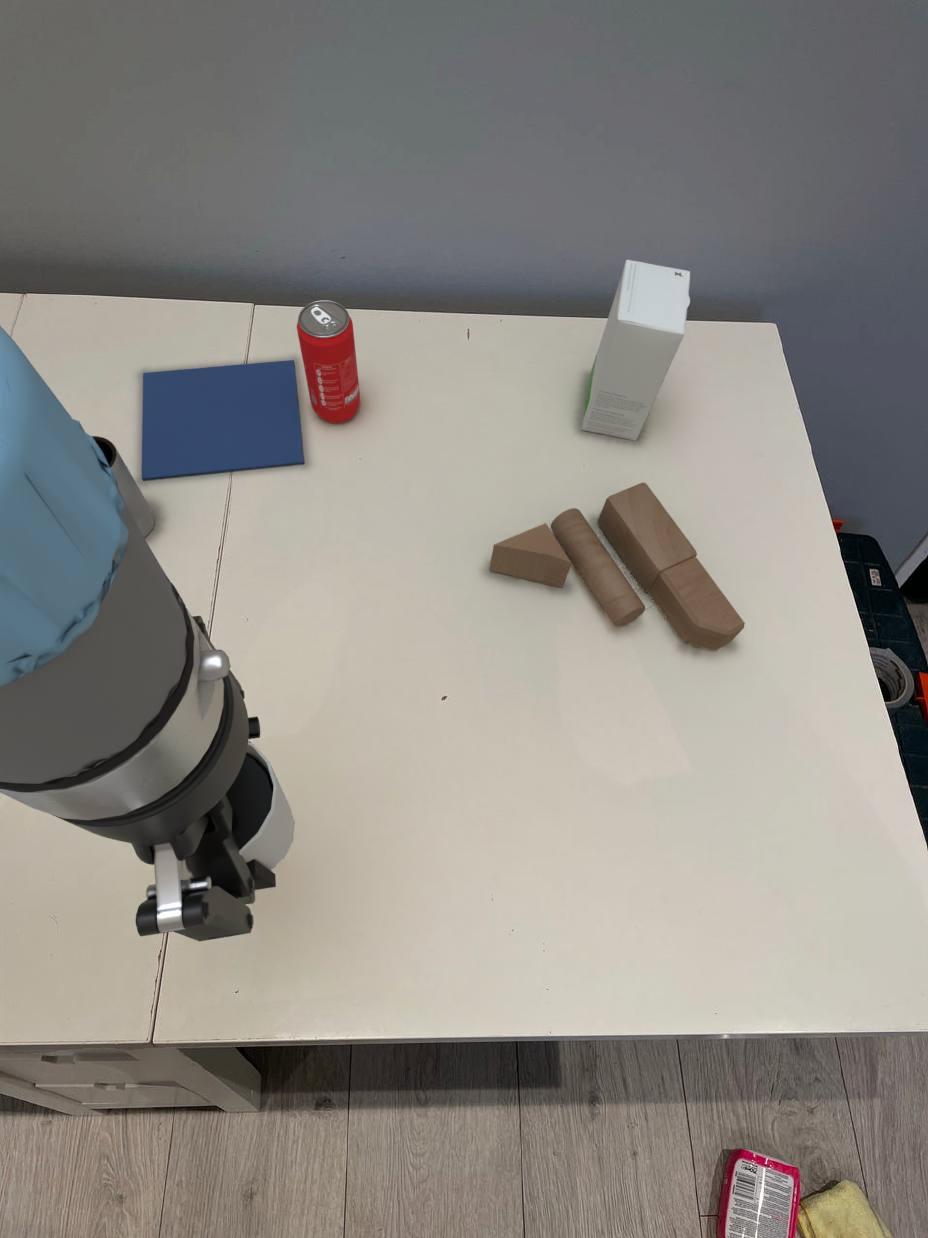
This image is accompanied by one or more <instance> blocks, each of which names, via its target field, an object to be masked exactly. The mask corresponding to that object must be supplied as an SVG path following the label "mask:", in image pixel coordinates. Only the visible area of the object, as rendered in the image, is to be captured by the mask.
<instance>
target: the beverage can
mask: <svg viewBox="0 0 928 1238" xmlns="http://www.w3.org/2000/svg"><path fill="white" fill-rule="evenodd" d="M296 331H297V332H296V333H297V335H298V336H297V337H298V343H299V348H300V352H301V359H302V362H303V369H304V375H305V379H306V385H307V390H308V396H309V400H310V405H311V408H312V409H313V411H314V412H315V413H316V414H317V416H318V417H319V418H320V419H321V420H322V421H324V422H326V423H329V424H334V425H337V424H344V423H347V422H349V421H350V420H352V419H353V418H354V417H355V416H356V414H357V412H358V409H359V407H360V406H361V392H360V382H359V371H358V364H357V354H356V353H357V351H356V341H355V334H354V323H353V319H352V318H351V316H350V314H349V311H348V310H347V309H346V308H345V307H344V306H343V305H342V304H340V303H338V302H336V301H333V300H325V299H324V300H323V299H322V300H316V301H312V302H310V303H308V304H306V305H305V306H304V307H303V308H302V309H301V310H300V312H299V314H298V317H297V322H296Z"/></svg>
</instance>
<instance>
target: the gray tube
mask: <svg viewBox="0 0 928 1238" xmlns="http://www.w3.org/2000/svg"><path fill="white" fill-rule="evenodd" d="M90 436H91V437H93V439H94V440H95V442H96V443H97V445H98V446H99V448H100V449H101V451H102V452H103V454H104V456H105V458H106V460H107V462H108V465H109V467H110V468H111V470H112V471H113V473H114V474H115V476H116V479H117V484H118V489H119V491H120V493H121V495H122V497H123V499H124V501H125V503H126V504H127V506H128V508H129V510H130V512H131V514H132V516H133V518H134V520H135V521H136V523H137V525H138V527H139V529H140V531H141V533H142V535H143V536H144V538H145V539H146V537H148V535H149V534H150V533H151V532H152V531H153V529H154V527H155V523H156V518H155V517H156V516H155V514H154V512H153V510H152V508H151V506H150V504H149V503H148V500H147V499H146V498H145V496H144V494H143V492H142V491H141V489H140V487H139V485H138V484H137V482H136V480H135V479H134V477H133V475H132V473H131V472H130V470H129V468H128V466H127V465H126V463H125V461H124V459H123V458H122V456H121V454H120V452H119V451H118V449H117V447H116V445H114V442H112V441H111V440H109V439H107V438H105V437H102V436H97V435H90Z"/></svg>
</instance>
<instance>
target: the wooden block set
mask: <svg viewBox="0 0 928 1238" xmlns="http://www.w3.org/2000/svg"><path fill="white" fill-rule="evenodd" d="M597 525H598V526H599V527H600V529H601V530H602V532H603V533H604V535H605V536H606V538H607V539H608V541H609V542H610V543H611V545H612V546H613V548H614V549H615V551H616V552H617V554H618V555H619V556H620V558H621V559H622V561H623V562H624V564H625V566H626V567H627V569H628V570H629V571H630V572H631V574H632V575H633V577H634V578H635V580H636V582H637V583H638V584H639V586H640V587H641V588H642V590H643V591H644V592H645V593H649V594H650V596H651V597H652V599H653V600H654V602H655V603H656V605H657V607H659V609H660V611H661V612H662V613H663V615H664V616H665V618H666V619H667V620H668V622H669V623H670V625H671V626H672V628H673V629H674V631H675V632H676V634H677V635H678V636H679V638H680V639H681V640H682V641H684V642H685V643H687V644H690V645H695V646H698V647H700V648H704V649H708V650H711V651H714V650H715V651H717V650H719V649H721V648H723V647H725V646H727V645H729V644H730V643H731V642H732V641H733V640H734V639H735V638H736V637H737V636H738V635H739V634H740V633H741V632H742V631H743V629H744V628H745V625H746V624H745V621H744V619H742V617H741V615H740V614H739V613H738V612H737V610H736V608H734V606H733V605H732V603H731V602H730V601H729V599H728V598H727V596H725V594H724V593H723V592H722V590H721V589H720V587H719V586H718V585H717V583H716V582H715V580H714V579H713V578H712V577H711V575H710V573H708V571H707V570H706V568H705V566H703V563H701V562H700V559H698V557H697V556H698V553H697V550H696V548H695V547H694V546H693V544H692V543H691V541H689V539H688V538H687V537H686V535H685V534H684V532H683V531H682V530H681V528H680V527H679V525H678V524H677V523H676V521H675V520H674V519H673V517H672V516H671V515H670V513H669V512H668V511H667V509H666V508H665V507H664V505H663V504H662V503H661V501H660V500H659V498H658V497H657V496H656V494H655V492H653V490H652V489H651V488H650V486H649V485H648V484H647V483H646V482H640V483H638V484H636V485H633V486H631V487H628V488H625V489H623V490H621V491H618V492H616V493H614V494H611V495H609V496H607V498H606V499H605V501H604V503H603V506H602V509H601V511H600V514H599V515H598V518H597ZM572 565H574V566H575V567H576V569H577V570H578V572H579V574H580V575H581V577H582V578H583V580H584V581H585V583H586V584H587V586H588V587H589V589H590V590H591V592H592V593H593V595H594V597H595V598H596V599H597V601H598V602H599V604H600V605H601V607H602V609H603V610H604V612H605V614H606V615H607V616H608V618H609V619H610V621H611V622H612V624H613V625H614V627H617V628H620V627H624V626H627V625H628V624H630V623H633V621H636V620H637V619H638V618H639V617H640V616H642V614H643V613H644V612H645V611H646V605H645V604H644V602H643V601H642V600H641V598H640V597H639V595H638V594H637V592H636V591H635V589H634V588H633V586H632V585H631V584H630V582H629V580H628V579H627V578H626V576H625V575H624V573H623V572H622V570H621V569H620V567H619V566H618V564H617V563H616V561H615V560H614V558H613V557H612V556H611V554H610V553H609V551H608V549H607V548H606V546H605V545H604V544H603V542H602V541H601V540H600V537H598V535H597V534H596V532H595V531H594V529H593V528H592V527H591V525H590V524H589V522H588V521H587V519H586V517H585V516H584V514H583V513H582V511H581V510H580V509H578V508H575V507H573V508H568V509H566V510H565V511H562V512H561V513H559V514H558V515H557V516H555V518H554V519H553V520H552V522H551V524H550V527H549V526H548V524H547V523H546V522H545V523H543V524H540V525H537V526H535V527H533V528H530V529H528V530H525V531H523V532H520V533H519V534H516V535H513V536H511V537H509V538H506V539H503V540H502V541H499V542H497V543H495V544H493V547H492V552H491V558H490V563H489V567H488V571H490V572H494V573H497V574H503V575H506V576H511V577H515V578H519V579H522V580H527V581H532V582H536V583H540V584H543V585H544V584H545V585H548V586H553V587H557V588H560V589H563V587H564V585H565V583H566V580H567V577H568V575H569V571H570V569H571V566H572Z"/></svg>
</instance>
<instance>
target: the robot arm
mask: <svg viewBox="0 0 928 1238" xmlns="http://www.w3.org/2000/svg"><path fill="white" fill-rule="evenodd" d="M91 436H92V435H90V434H88V433H87V432H86V431H85V429H84V427H83V425H82V424H81V422H80V421H79V420H76V419H74V418H72V416H71V414H70V413H69V412H68V410H67V409H66V408H65V407H64V405H63V404H62V403H61V401H60V400H59V399H58V397H57V396H56V394H55V393H54V392H53V390H52V389H51V388H50V387H49V385H48V384H47V382H46V381H45V380H44V378H43V377H42V376H41V375H40V373H39V372H38V371H37V370H36V368H35V366H34V365H33V364H32V362H31V361H30V360H29V358H28V357H27V356H26V355H25V353H24V352H23V350H22V349H21V347H19V345H18V344H17V343H16V341H15V340H14V339H13V338H12V337H11V335H9V333H8V332H7V331H6V330H5V329H4V328H3V327H2V326H1V325H0V794H3V795H4V796H6V797H9V798H11V799H13V800H14V801H17V802H19V803H21V804H23V805H25V806H27V807H29V808H31V809H33V810H37V811H40V812H43V813H46V814H49V815H51V816H54V817H55V818H58V819H60V820H62V821H65V822H66V823H69V824H71V825H74V826H76V827H78V828H81V829H83V830H85V831H87V832H89V833H91V834H94V835H97V836H100V837H101V838H102V837H103V838H106V839H110V840H114V841H118V842H123V843H128V844H131V846H132V848H133V850H134V852H135V854H136V857H137V858H138V859H139V860H140V861H141V862H143V863H144V864H146V865H151V866H153V867H154V881H155V883H154V884H149V885H148V886H147V887H146V890H145V895H146V900H144V901H142V902H141V903H140V904H139V905H138V907H137V911H136V913H135V926H136V931H137V933H138V935H139V937H148V936H152V935H159V934H166V933H172V932H173V933H176V934H178V935H181V936H184V937H186V938H188V939H189V938H190V939H192V940H194V941H197V942H205V941H206V942H207V941H211V940H212V941H213V940H218V939H224V938H230V937H236V936H242V935H248V934H251V933H252V929H253V926H254V924H255V923H254V920H255V919H254V914H252V912H251V911H252V910H251V908H250V906H248V905H253V904H255V902H256V891H260V890H264V889H271V888H276V887H277V882H276V880H277V879H276V873H275V872H274V871H272V870H271V871H270V870H269V869H268V868H266V867H265V866H264V865H262V864H261V863H259V862H258V861H257V860H255V859H253V860H251V861H249V862H247V863H246V862H245V860H244V858H243V856H241V855H239V851H240V849H239V847H238V845H237V843H236V841H235V839H234V837H233V835H232V833H231V832H232V807H231V805H230V803H229V801H228V798H227V796H226V794H225V793H226V792H227V791H228V790H229V788H230V787H231V785H232V784H233V782H234V780H235V779H236V777H237V775H238V773H239V771H240V769H241V766H242V764H243V761H244V758H245V755H246V751H247V746H248V742H250V743H252V741H249V740H253V739H260V738H261V724H260V719H259V716H250V717H249V715H248V709H247V706H246V703H245V698H246V697H245V691H244V689H243V688H242V685H241V684H240V682H239V681H238V678H236V677H235V675H234V673H233V672H232V671H231V667H232V666H231V662H230V657H229V656H228V654H227V653H226V651H224V650H223V649H216V648H215V646H214V644H213V643H212V641H211V639H210V635H209V633H208V631H207V627H206V623H205V622H204V619H203V617H202V616H201V615H192V613H191V612H190V610H188V608H187V605H186V604H185V602H184V600H183V598H182V596H181V594H180V592H179V591H178V590H177V587H176V586H175V585H174V583H172V582H171V580H170V578H169V577H168V575H167V574H166V572H165V571H164V569H163V568H162V566H161V564H160V562H159V560H158V559H157V557H156V555H155V553H154V552H153V550H152V549H151V547H150V546H149V544H148V542H147V540H146V537H145V538H144V536H143V535H142V533H141V531H140V529H139V527H138V525H137V523H136V521H135V520H134V518H133V516H132V514H131V512H130V510H129V508H128V506H127V504H126V503H125V501H124V499H123V497H122V495H121V493H120V491H119V489H118V484H117V479H116V476H115V474H114V473H113V471H112V470H111V468H110V467H109V465H108V462H107V460H106V458H105V456H104V454H103V452H102V451H101V449H100V448H99V446H98V445H97V443H96V442H95V440H94V439H93V437H91Z"/></svg>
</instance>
